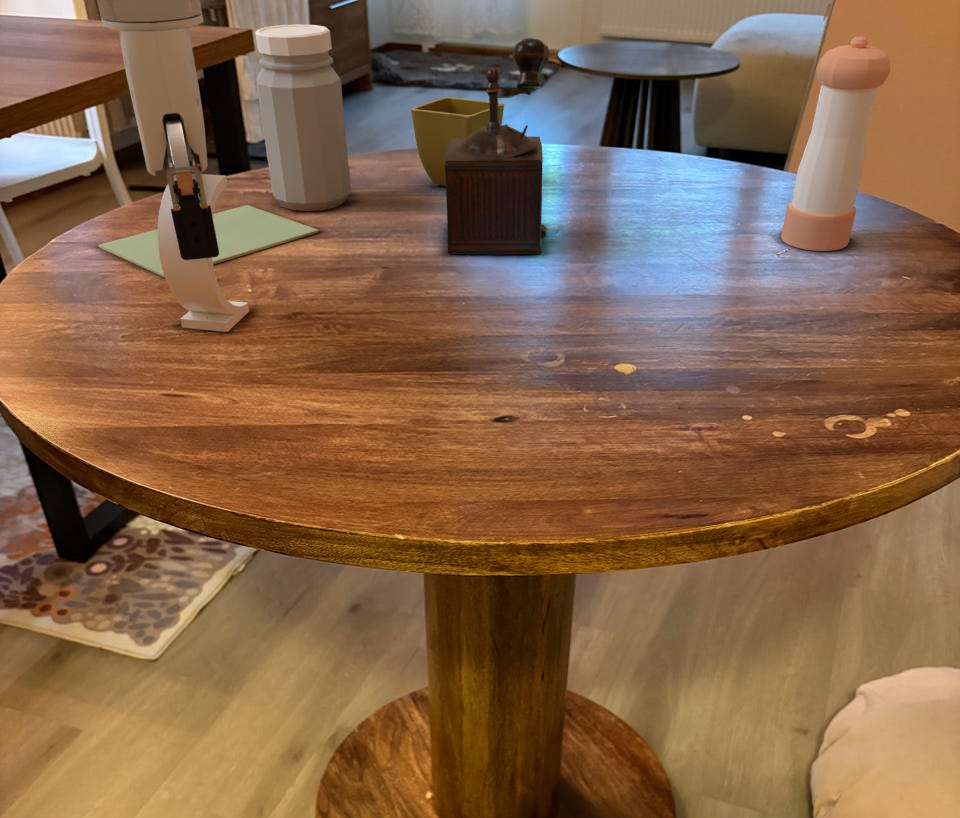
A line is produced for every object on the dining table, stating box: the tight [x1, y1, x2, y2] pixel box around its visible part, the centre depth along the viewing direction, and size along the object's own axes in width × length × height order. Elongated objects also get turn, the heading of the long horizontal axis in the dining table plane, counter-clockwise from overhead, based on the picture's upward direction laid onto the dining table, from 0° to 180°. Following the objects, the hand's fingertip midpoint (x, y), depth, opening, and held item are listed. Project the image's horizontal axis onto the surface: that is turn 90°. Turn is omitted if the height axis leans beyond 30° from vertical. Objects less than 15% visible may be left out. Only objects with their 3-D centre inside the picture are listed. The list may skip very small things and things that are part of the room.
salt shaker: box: [780, 35, 891, 252], centre depth 96 cm, size 7×7×19 cm
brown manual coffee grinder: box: [445, 37, 550, 255], centre depth 99 cm, size 16×11×18 cm
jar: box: [254, 23, 352, 212], centre depth 108 cm, size 10×10×18 cm
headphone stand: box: [157, 173, 250, 333], centre depth 82 cm, size 5×6×12 cm
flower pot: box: [410, 96, 505, 187], centre depth 117 cm, size 9×9×9 cm
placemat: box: [97, 204, 320, 279], centre depth 103 cm, size 20×14×1 cm
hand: (197, 241), depth 81 cm, fingers closed on headphone stand, 7 cm apart
